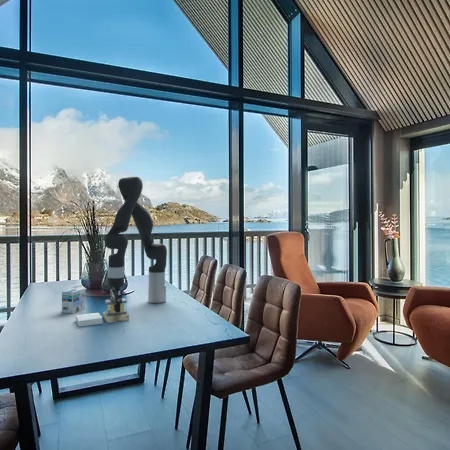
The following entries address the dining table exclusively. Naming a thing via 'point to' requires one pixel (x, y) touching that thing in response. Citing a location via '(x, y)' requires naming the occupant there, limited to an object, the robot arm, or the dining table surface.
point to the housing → (112, 307)
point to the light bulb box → (73, 300)
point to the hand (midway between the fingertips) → (115, 310)
